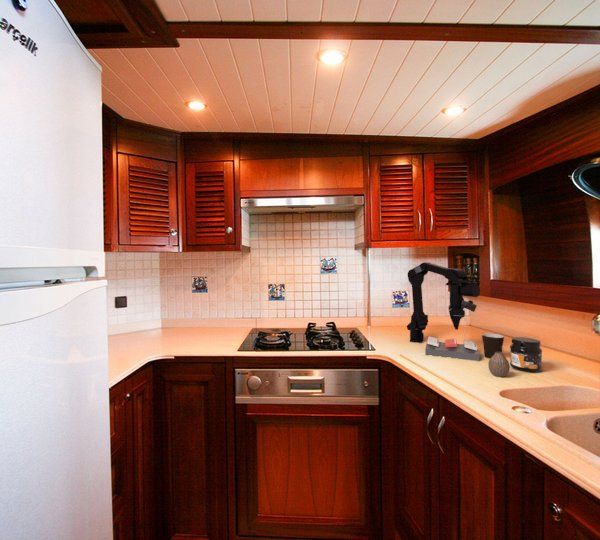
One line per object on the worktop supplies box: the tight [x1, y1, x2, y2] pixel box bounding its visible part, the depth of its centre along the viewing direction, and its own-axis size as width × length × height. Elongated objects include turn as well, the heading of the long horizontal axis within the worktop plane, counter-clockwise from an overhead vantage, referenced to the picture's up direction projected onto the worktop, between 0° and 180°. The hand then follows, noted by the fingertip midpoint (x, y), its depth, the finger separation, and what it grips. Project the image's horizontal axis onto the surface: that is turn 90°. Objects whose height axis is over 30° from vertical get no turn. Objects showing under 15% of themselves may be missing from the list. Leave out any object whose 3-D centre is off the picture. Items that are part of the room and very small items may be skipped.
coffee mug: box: [481, 332, 505, 360], centre depth 144 cm, size 12×9×10 cm
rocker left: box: [426, 336, 440, 347], centre depth 155 cm, size 5×11×1 cm, turn 156°
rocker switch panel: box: [424, 341, 480, 362], centre depth 150 cm, size 22×16×3 cm
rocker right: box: [462, 339, 478, 351], centre depth 148 cm, size 5×11×1 cm, turn 156°
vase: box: [488, 352, 511, 378], centre depth 120 cm, size 7×7×9 cm
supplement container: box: [509, 336, 543, 374], centre depth 128 cm, size 10×10×12 cm
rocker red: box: [444, 338, 458, 347], centre depth 152 cm, size 5×11×1 cm, turn 155°
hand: (456, 327), depth 151 cm, fingers open, 9 cm apart
